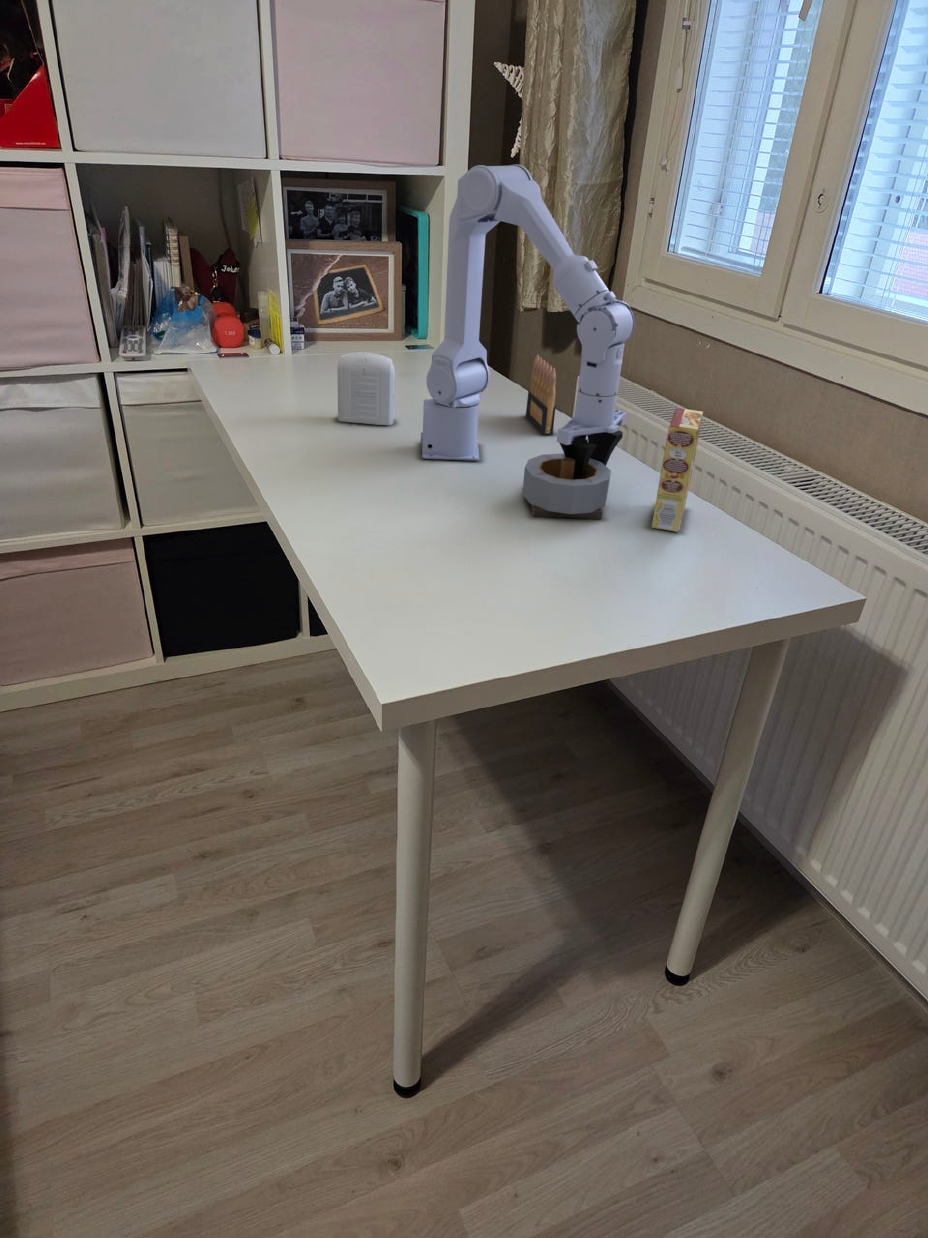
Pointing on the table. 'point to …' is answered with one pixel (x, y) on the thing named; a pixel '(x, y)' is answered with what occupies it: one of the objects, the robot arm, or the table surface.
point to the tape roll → (565, 486)
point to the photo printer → (366, 388)
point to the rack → (565, 473)
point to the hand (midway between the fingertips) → (585, 479)
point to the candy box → (677, 469)
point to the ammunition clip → (542, 397)
